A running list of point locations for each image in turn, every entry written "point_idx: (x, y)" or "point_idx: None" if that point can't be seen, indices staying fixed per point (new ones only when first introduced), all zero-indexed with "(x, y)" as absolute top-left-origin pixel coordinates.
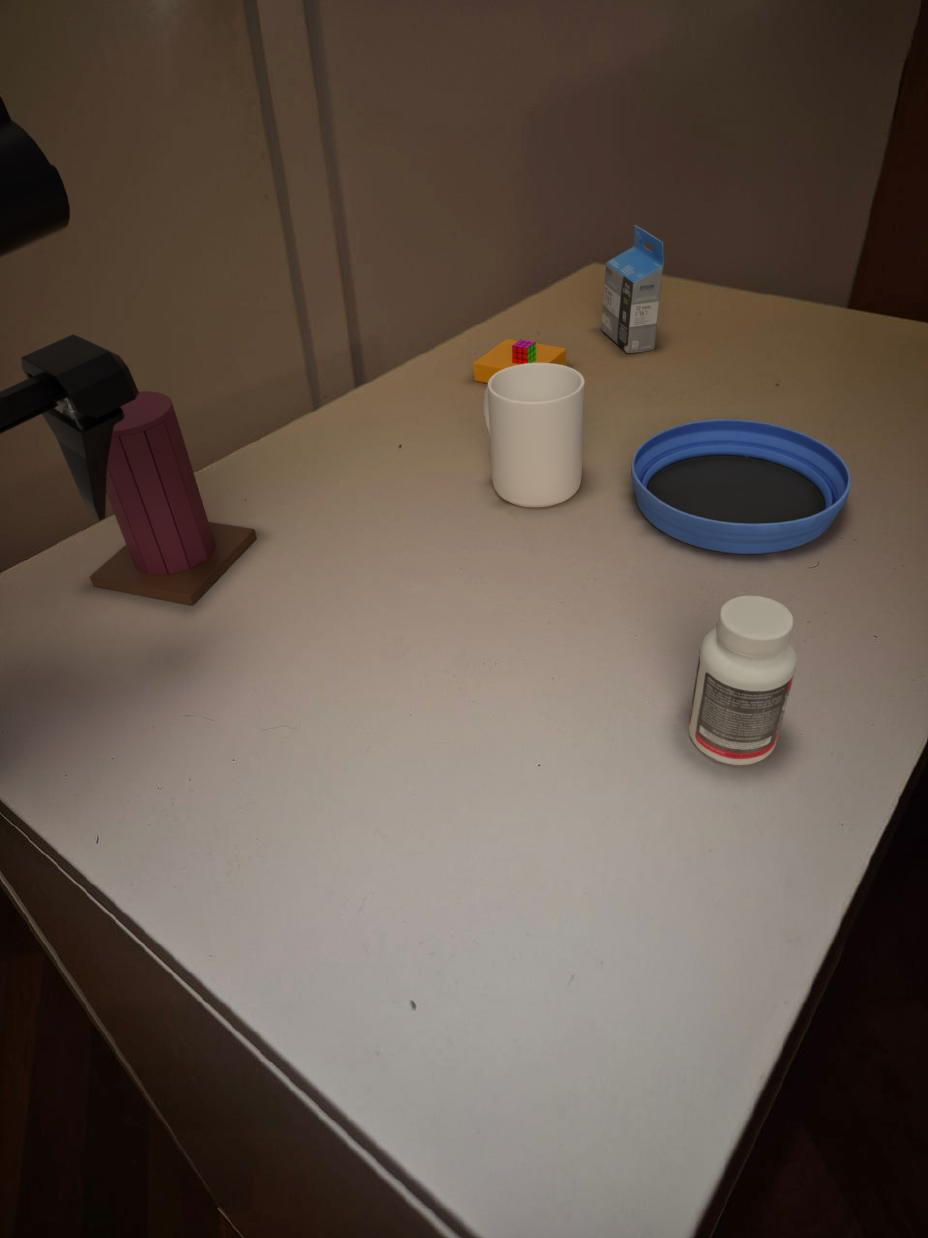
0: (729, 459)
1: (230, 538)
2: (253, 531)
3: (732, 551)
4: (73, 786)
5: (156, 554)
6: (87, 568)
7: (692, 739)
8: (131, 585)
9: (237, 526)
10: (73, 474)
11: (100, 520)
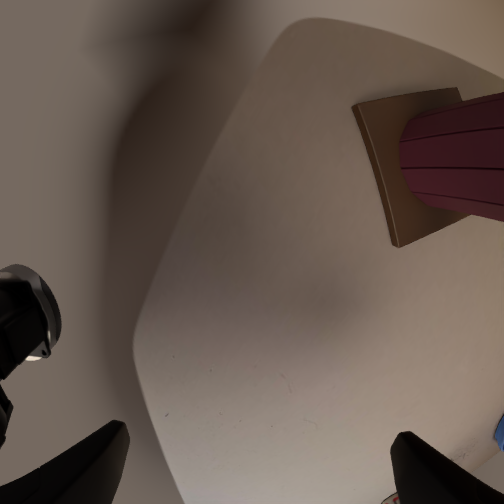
0: None
1: None
2: None
3: (496, 433)
4: (172, 370)
5: (425, 188)
6: (363, 72)
7: (387, 499)
8: (378, 167)
9: None
10: (439, 491)
11: (390, 452)
